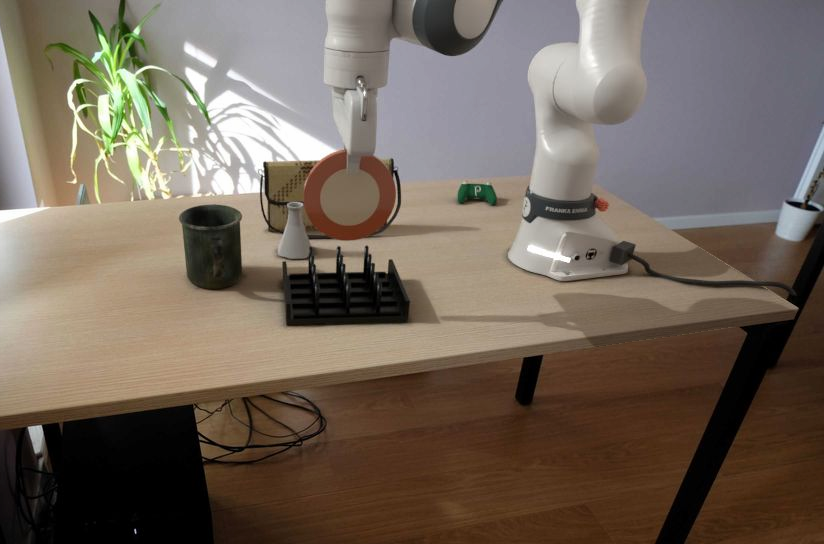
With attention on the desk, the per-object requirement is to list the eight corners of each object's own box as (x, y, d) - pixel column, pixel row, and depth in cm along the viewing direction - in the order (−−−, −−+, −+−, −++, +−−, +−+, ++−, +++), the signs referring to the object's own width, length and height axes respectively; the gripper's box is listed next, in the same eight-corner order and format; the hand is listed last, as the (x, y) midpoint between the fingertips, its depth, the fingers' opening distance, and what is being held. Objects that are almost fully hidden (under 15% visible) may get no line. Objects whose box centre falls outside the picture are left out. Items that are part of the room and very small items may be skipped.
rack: (390, 278, 122) (393, 243, 119) (408, 322, 109) (411, 283, 105) (282, 281, 121) (282, 245, 117) (286, 325, 107) (285, 286, 103)
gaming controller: (494, 210, 159) (494, 187, 161) (497, 203, 156) (497, 179, 157) (455, 208, 160) (456, 185, 161) (458, 201, 156) (458, 178, 158)
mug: (239, 261, 127) (236, 202, 121) (253, 296, 115) (250, 232, 109) (182, 267, 125) (176, 206, 118) (190, 303, 113) (183, 238, 106)
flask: (309, 262, 128) (309, 212, 123) (272, 258, 129) (271, 209, 124) (316, 247, 134) (317, 199, 129) (282, 243, 135) (281, 196, 130)
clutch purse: (261, 241, 136) (259, 169, 128) (259, 228, 142) (256, 159, 134) (402, 235, 140) (408, 165, 132) (394, 223, 146) (399, 155, 138)
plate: (390, 237, 105) (398, 148, 98) (392, 240, 104) (399, 151, 96) (302, 238, 103) (303, 148, 96) (303, 241, 102) (304, 151, 95)
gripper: (391, 85, 82) (383, 193, 89) (368, 58, 100) (362, 150, 107) (341, 85, 82) (337, 193, 89) (326, 58, 99) (324, 150, 106)
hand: (351, 169), depth 98 cm, fingers closed on plate, 1 cm apart
